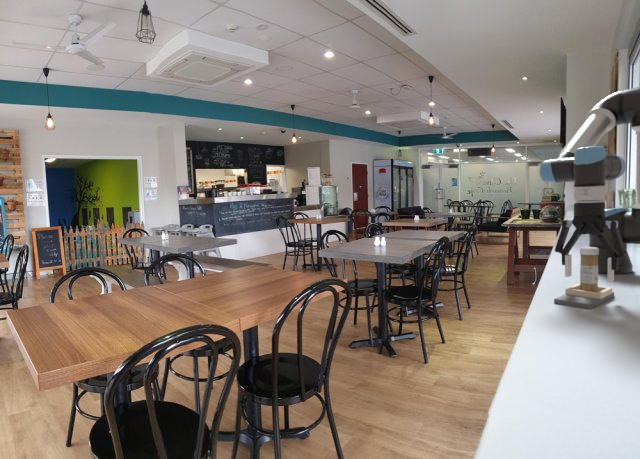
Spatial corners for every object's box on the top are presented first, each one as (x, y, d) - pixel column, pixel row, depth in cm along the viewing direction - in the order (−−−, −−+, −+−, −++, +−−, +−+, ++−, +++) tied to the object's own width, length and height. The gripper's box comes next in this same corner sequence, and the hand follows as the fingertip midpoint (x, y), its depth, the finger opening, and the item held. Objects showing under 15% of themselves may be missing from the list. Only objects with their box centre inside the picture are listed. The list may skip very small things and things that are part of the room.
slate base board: (579, 291, 128) (579, 282, 128) (614, 296, 121) (614, 287, 121) (554, 303, 117) (554, 293, 117) (590, 309, 110) (590, 298, 110)
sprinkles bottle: (587, 290, 124) (587, 245, 123) (602, 294, 120) (602, 247, 118) (575, 292, 122) (576, 247, 121) (590, 296, 118) (591, 249, 117)
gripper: (541, 203, 125) (542, 275, 127) (633, 201, 107) (632, 286, 109) (552, 201, 130) (552, 272, 132) (642, 200, 112) (640, 281, 114)
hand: (588, 278), depth 121 cm, fingers open, 10 cm apart
